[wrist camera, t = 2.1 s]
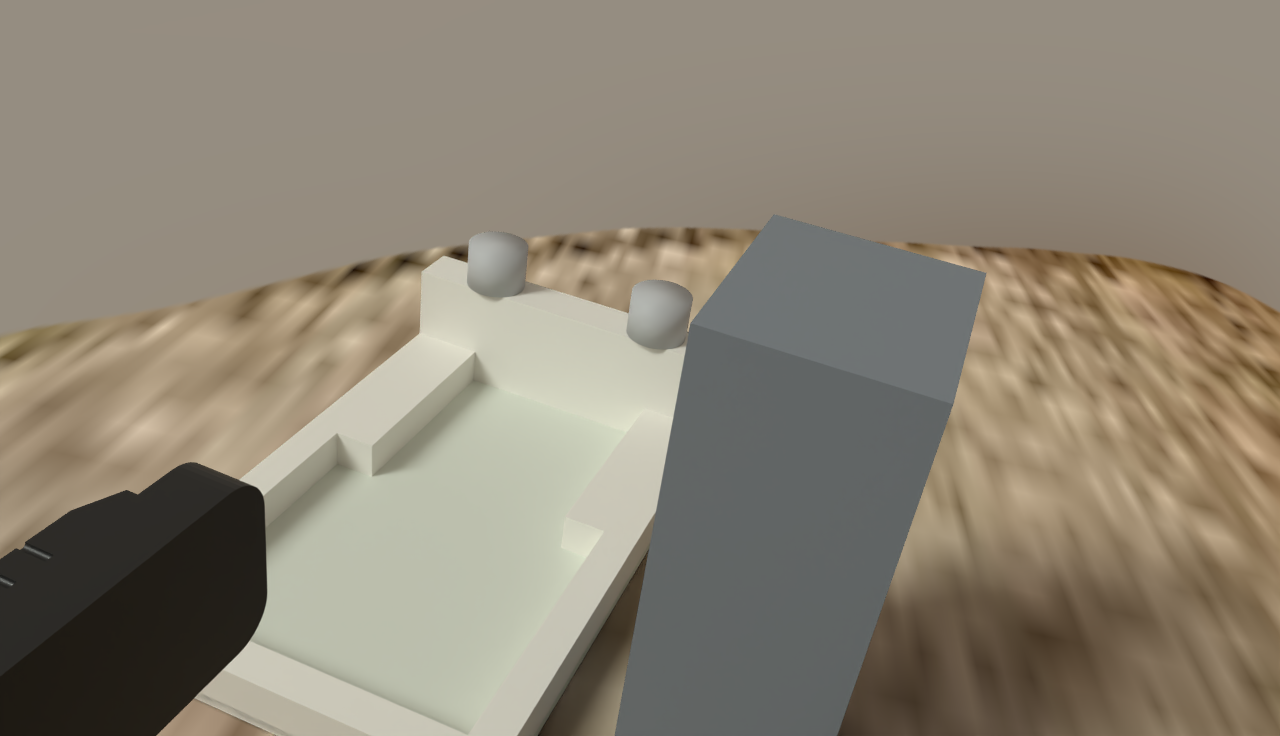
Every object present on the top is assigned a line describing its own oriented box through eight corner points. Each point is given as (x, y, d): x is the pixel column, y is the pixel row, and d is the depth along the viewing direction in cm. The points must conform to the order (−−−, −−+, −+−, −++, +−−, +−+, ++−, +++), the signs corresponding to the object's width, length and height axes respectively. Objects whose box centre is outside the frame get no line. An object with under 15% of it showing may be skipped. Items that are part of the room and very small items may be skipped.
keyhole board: (482, 828, 24) (498, 657, 21) (90, 650, 27) (56, 477, 24) (714, 438, 38) (743, 303, 35) (443, 347, 41) (449, 215, 38)
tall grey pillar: (786, 881, 24) (953, 404, 17) (602, 801, 25) (690, 323, 18) (837, 706, 28) (986, 272, 22) (680, 645, 30) (773, 214, 23)
